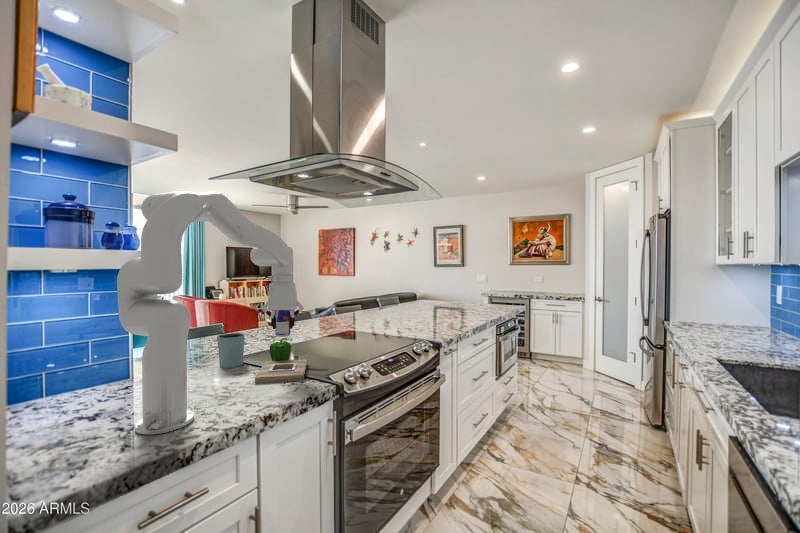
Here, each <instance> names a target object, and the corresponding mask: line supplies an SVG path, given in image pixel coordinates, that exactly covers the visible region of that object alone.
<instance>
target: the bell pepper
mask: <svg viewBox="0 0 800 533" xmlns="http://www.w3.org/2000/svg"><path fill="white" fill-rule="evenodd" d="M287 340H288V337H281V339H280V340H279V342H278V341H276V342H274V343H270V345H269V355H270V359H271V361H286V360H290V357H291V352H292V344H291V343H290V342H288V341H287Z"/></svg>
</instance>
